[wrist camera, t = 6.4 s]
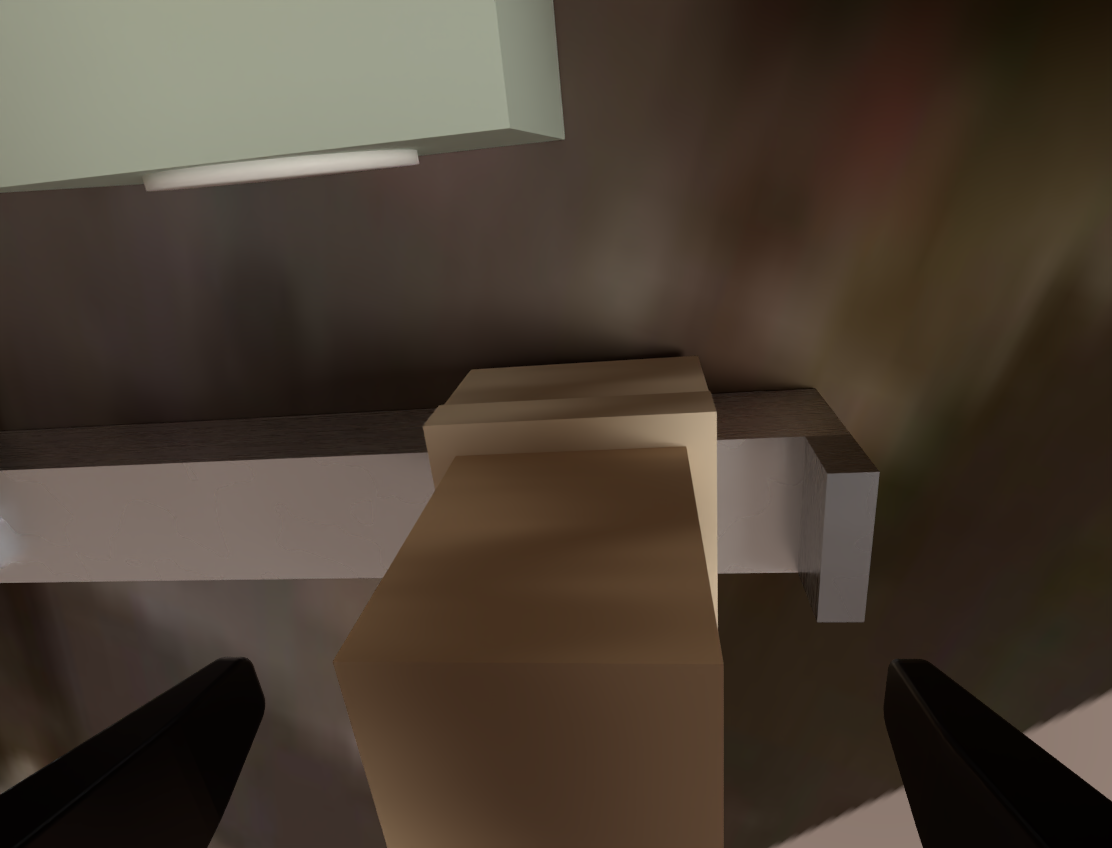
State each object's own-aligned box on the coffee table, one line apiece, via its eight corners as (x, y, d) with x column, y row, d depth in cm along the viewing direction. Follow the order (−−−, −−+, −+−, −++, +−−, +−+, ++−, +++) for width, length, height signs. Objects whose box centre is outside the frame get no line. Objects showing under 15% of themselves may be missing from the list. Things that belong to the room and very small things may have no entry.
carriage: (697, 351, 14) (779, 613, 6) (700, 557, 16) (766, 958, 8) (470, 365, 14) (273, 615, 7) (501, 560, 16) (376, 930, 9)
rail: (815, 388, 14) (879, 471, 10) (808, 508, 15) (864, 622, 11) (-13, 432, 17) (-191, 508, 13) (33, 529, 18) (-120, 624, 14)
